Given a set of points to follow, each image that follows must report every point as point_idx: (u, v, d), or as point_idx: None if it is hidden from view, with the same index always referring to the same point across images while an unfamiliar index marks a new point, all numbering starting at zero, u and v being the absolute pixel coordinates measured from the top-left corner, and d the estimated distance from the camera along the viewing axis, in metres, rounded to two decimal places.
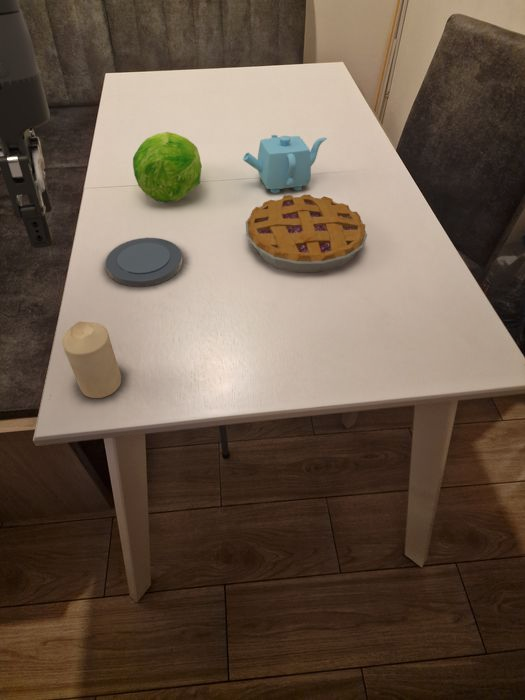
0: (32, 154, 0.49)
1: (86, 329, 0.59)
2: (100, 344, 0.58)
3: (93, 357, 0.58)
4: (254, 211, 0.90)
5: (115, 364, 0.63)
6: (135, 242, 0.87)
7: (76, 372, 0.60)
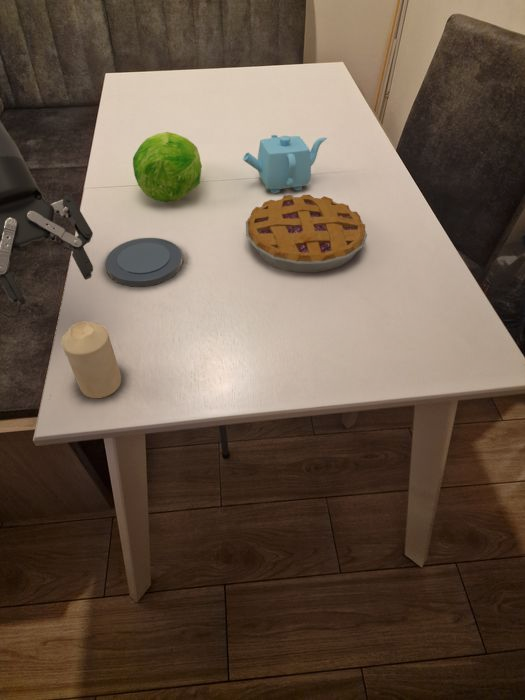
0: None
1: (86, 329, 0.59)
2: (100, 344, 0.58)
3: (93, 357, 0.58)
4: (254, 211, 0.90)
5: (115, 364, 0.63)
6: (135, 242, 0.87)
7: (76, 372, 0.60)
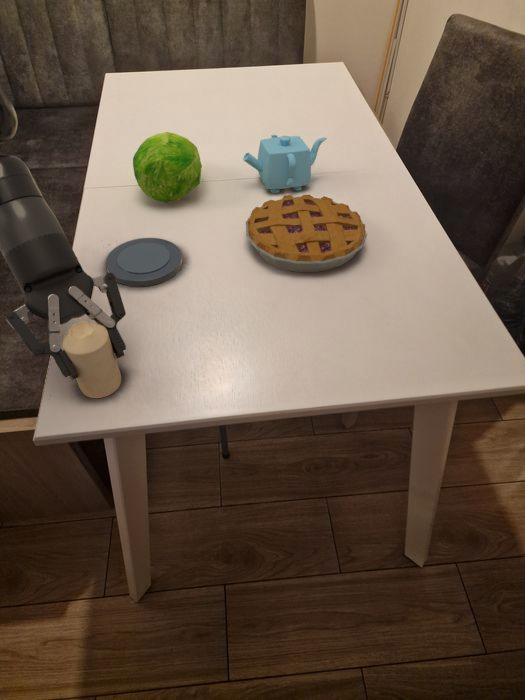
0: None
1: (86, 329, 0.59)
2: (100, 344, 0.58)
3: (93, 357, 0.58)
4: (254, 211, 0.90)
5: (115, 364, 0.63)
6: (135, 242, 0.87)
7: (76, 372, 0.60)
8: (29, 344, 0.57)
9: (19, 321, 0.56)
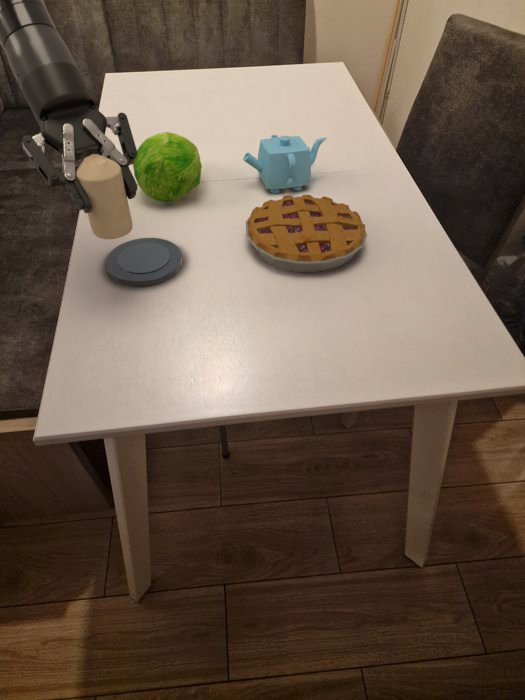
0: None
1: (100, 162, 0.61)
2: (113, 173, 0.60)
3: (106, 186, 0.60)
4: (254, 211, 0.90)
5: (127, 205, 0.65)
6: (135, 242, 0.87)
7: None
8: (45, 169, 0.59)
9: (35, 146, 0.58)
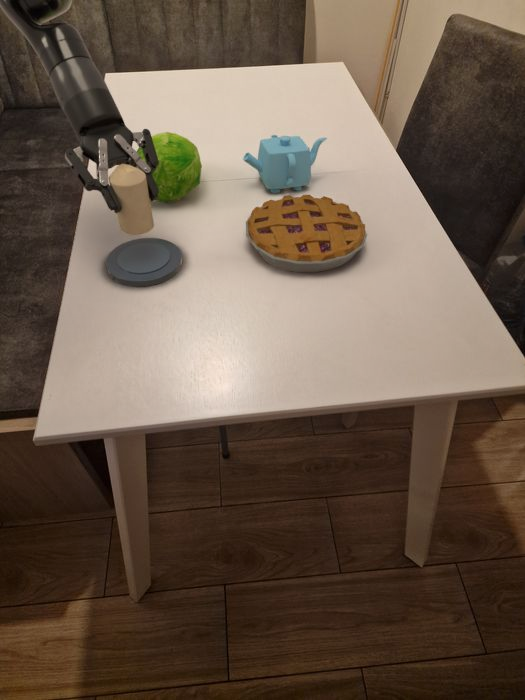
0: None
1: (128, 170, 0.73)
2: (140, 180, 0.72)
3: (134, 191, 0.72)
4: (254, 211, 0.90)
5: (150, 206, 0.77)
6: (135, 242, 0.87)
7: None
8: (84, 176, 0.71)
9: (76, 157, 0.70)
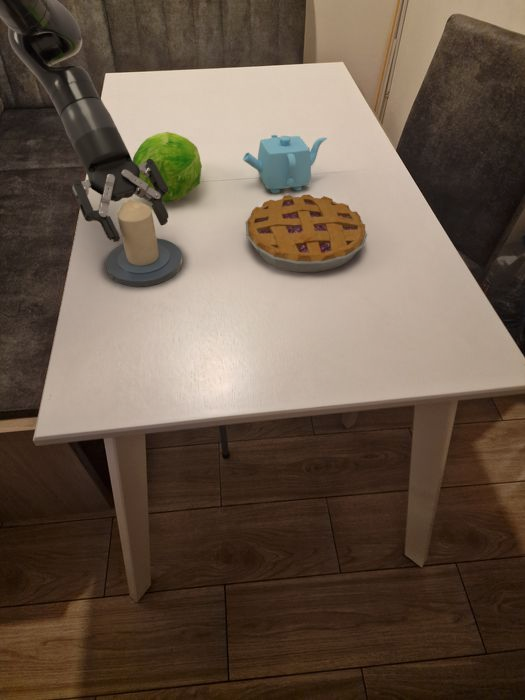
0: None
1: (135, 206, 0.78)
2: (146, 215, 0.77)
3: (141, 225, 0.77)
4: (254, 211, 0.90)
5: None
6: None
7: (127, 240, 0.79)
8: (85, 207, 0.74)
9: (82, 189, 0.74)
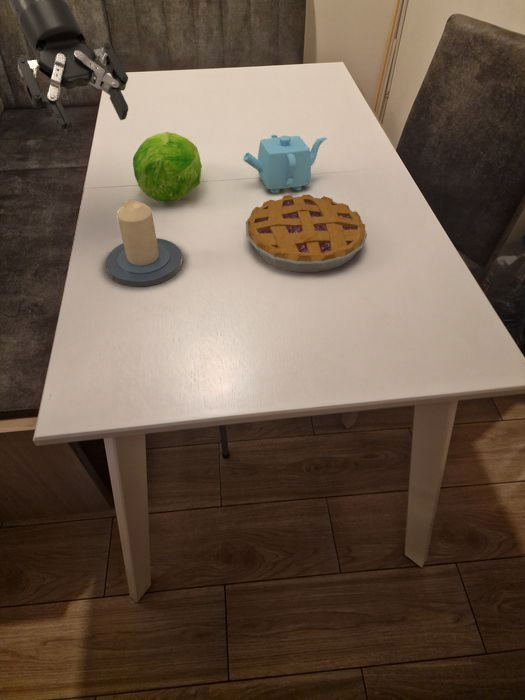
0: None
1: (135, 206, 0.78)
2: (146, 215, 0.77)
3: (141, 225, 0.77)
4: (254, 211, 0.90)
5: None
6: None
7: (127, 240, 0.79)
8: (31, 88, 0.66)
9: (28, 67, 0.66)
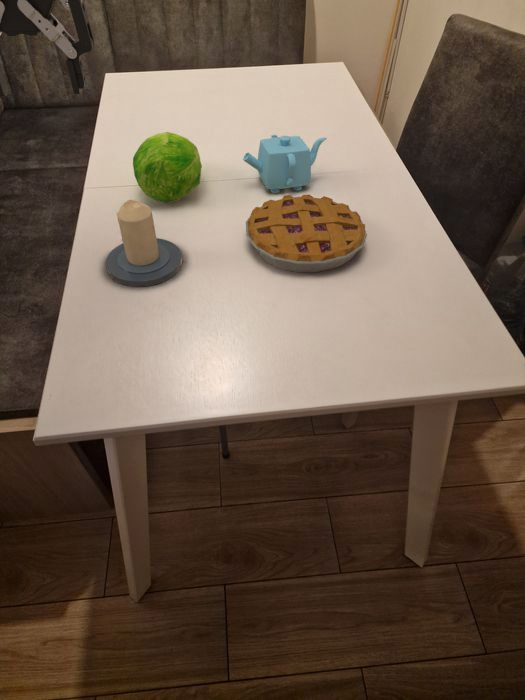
0: None
1: (135, 206, 0.78)
2: (146, 215, 0.77)
3: (141, 225, 0.77)
4: (254, 211, 0.90)
5: None
6: None
7: (127, 240, 0.79)
8: None
9: None
